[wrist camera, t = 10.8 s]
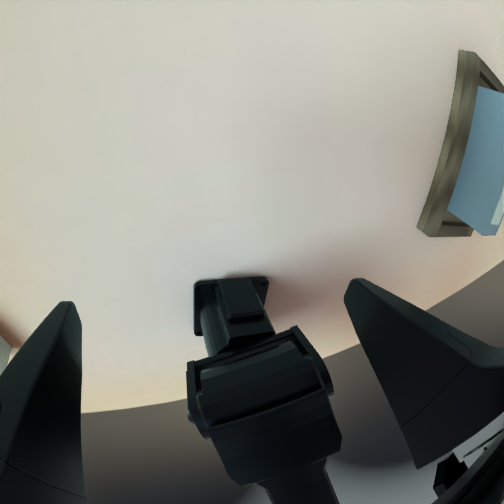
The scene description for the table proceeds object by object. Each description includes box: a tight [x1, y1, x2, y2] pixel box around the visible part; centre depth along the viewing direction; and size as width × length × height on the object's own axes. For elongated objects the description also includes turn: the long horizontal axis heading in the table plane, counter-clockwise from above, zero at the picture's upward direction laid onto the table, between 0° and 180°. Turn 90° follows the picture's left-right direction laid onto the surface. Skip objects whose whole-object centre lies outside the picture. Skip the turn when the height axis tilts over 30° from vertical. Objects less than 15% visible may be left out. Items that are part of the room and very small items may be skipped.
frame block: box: [447, 86, 504, 236], centre depth 20 cm, size 5×16×6 cm, turn 172°
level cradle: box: [417, 50, 504, 237], centre depth 23 cm, size 22×12×2 cm, turn 172°
